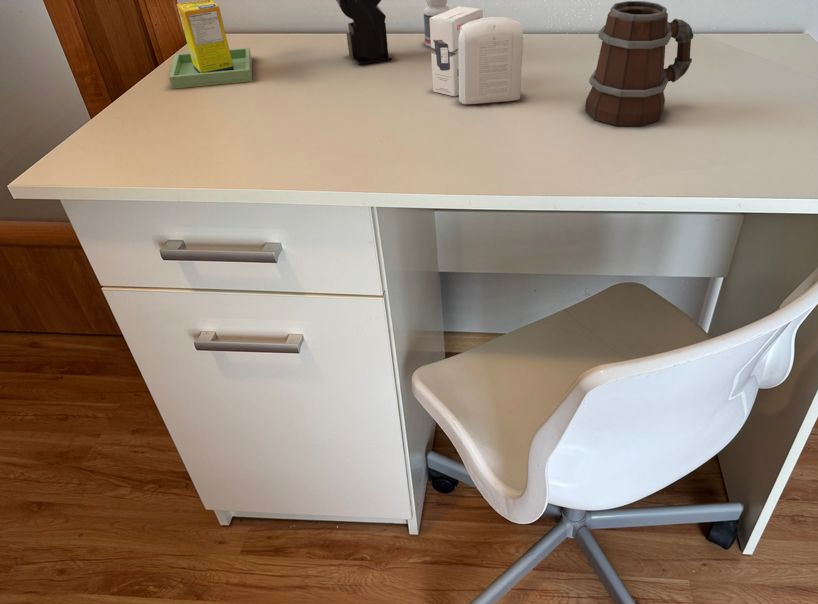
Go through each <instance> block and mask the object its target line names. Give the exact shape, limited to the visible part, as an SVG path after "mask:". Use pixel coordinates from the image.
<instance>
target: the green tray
mask: <svg viewBox="0 0 818 604" xmlns="http://www.w3.org/2000/svg"><path fill="white" fill-rule="evenodd" d="M229 50H230V54H231V58H232V62H233V67H234V70H229V71H218V72H208V73H198V72H197V71H196V70H195V69H194V66H193V62H192V58H191V55H190V52H183V53H182V52H181V53H175V55H174V58H173V62H172V67H171V69H170V73H169V76H168V77H169V82H170V86H171V88H172V90H175V89H176V90H177V89H186V88H195V87H196V88H197V87H198V88H199V87H207V86H219V85H228V84H238V83H249V82H253V58H252V53H251V48H250V47H239V48H229Z"/></svg>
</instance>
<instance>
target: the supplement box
mask: <svg viewBox="0 0 818 604" xmlns="http://www.w3.org/2000/svg"><path fill="white" fill-rule="evenodd" d="M176 8H177V12H178V15H179V18H180V22H181V26H182V29H183V33H184V37H185V41H186V44H187V48H188V51H189V53H190V55H191V58H192V62H193V66H194V69H195V70H196V71H197V72H198V73H208V72H218V71H229V70H234V67H233V62H232V58H231V54H230V50H229V49H230V47H229V42H228V37H227V34H226V30H225V25H224V21H223V17H222V14H221V9H220V6H219V4H217V3H216V2H215V1H213V0H195V1H189V2H187V1H186V2H182V3H176Z"/></svg>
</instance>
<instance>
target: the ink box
mask: <svg viewBox="0 0 818 604" xmlns="http://www.w3.org/2000/svg"><path fill="white" fill-rule="evenodd" d="M481 18H484V10H483V9H481V8H478V7H469V6H461V5H460V6H459V5H458V6H456V7H454V8H452V9H451V8H450V10H449V11H446V12H443V13H441V14H438V15H436V16H433V17H431V18H430V39H431V47H430V57H431V73H432V74H431V77H432V92H434V93H437V94H441V95H442V94H443V95H446V96H451V97H459V48H458V39H459V33H460V27H461V26H462V25H464V24H466V23H468V22H471V21H474V20H477V19H481Z"/></svg>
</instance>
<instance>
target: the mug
mask: <svg viewBox="0 0 818 604" xmlns="http://www.w3.org/2000/svg"><path fill="white" fill-rule="evenodd" d="M667 9H668V8H667V7H665V6H663V5H662V4H660V3H656V2H651V1H645V0H643V1H642V0H626V1H622V2H616V3H613V5H612V6H611V8H610V10H609V12H608V13H607V15H606V16H607V17H606V20H605V24H604V25H603V26H602V27H601V29H600V30H599V31H598V35H597V37H598V39H599V40H601V46H600V51H599V55H598V60H597V64H596V69H595V70H594V71H593V73H592V74H591V75H590V76H589V78H588V83H589V85H590V86H591V89H590V91H589V92H588V95H587V97H586V99H585V106H584V109H585V110H584V111H585V113H587V114H588V115H589V116H590V117H591V118H592V119H593V120H595V121H597V122H601V123H604V124H609V125H612V126H617V127H620V126H621V127H642V126H645V125H649V124H651V123H654V122H659V121H660V120H661V117H662V115H663V112H664V109H665V104H666V97H665V92H664V91H665V90H666V88H667V85H668V82H672V83H675V82H677V81H679V79H681V78H682V77H683V76H684V75H686V73H687V71H688V70H689V68H690V65H691V64H692V62H693V59H692V58H691V50H692V49H691V45H692V40H693V39H694V33H693V28H692V27H691V25H690V24H689V23H688V22H686V21H684V20H683V19H678V18H674V19H673V20H671V22H669V21H668V20H669V13H668V12H667V11H668V10H667ZM671 38H672V39H674V40H675V42H676V43H677V46H676V57H675V58H674V59H673V64H672V63H671V64H669V65H668V66H667V67H665V59H666V58H665V55H666V46H667V45H668V44H669V42H670V41H671Z"/></svg>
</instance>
